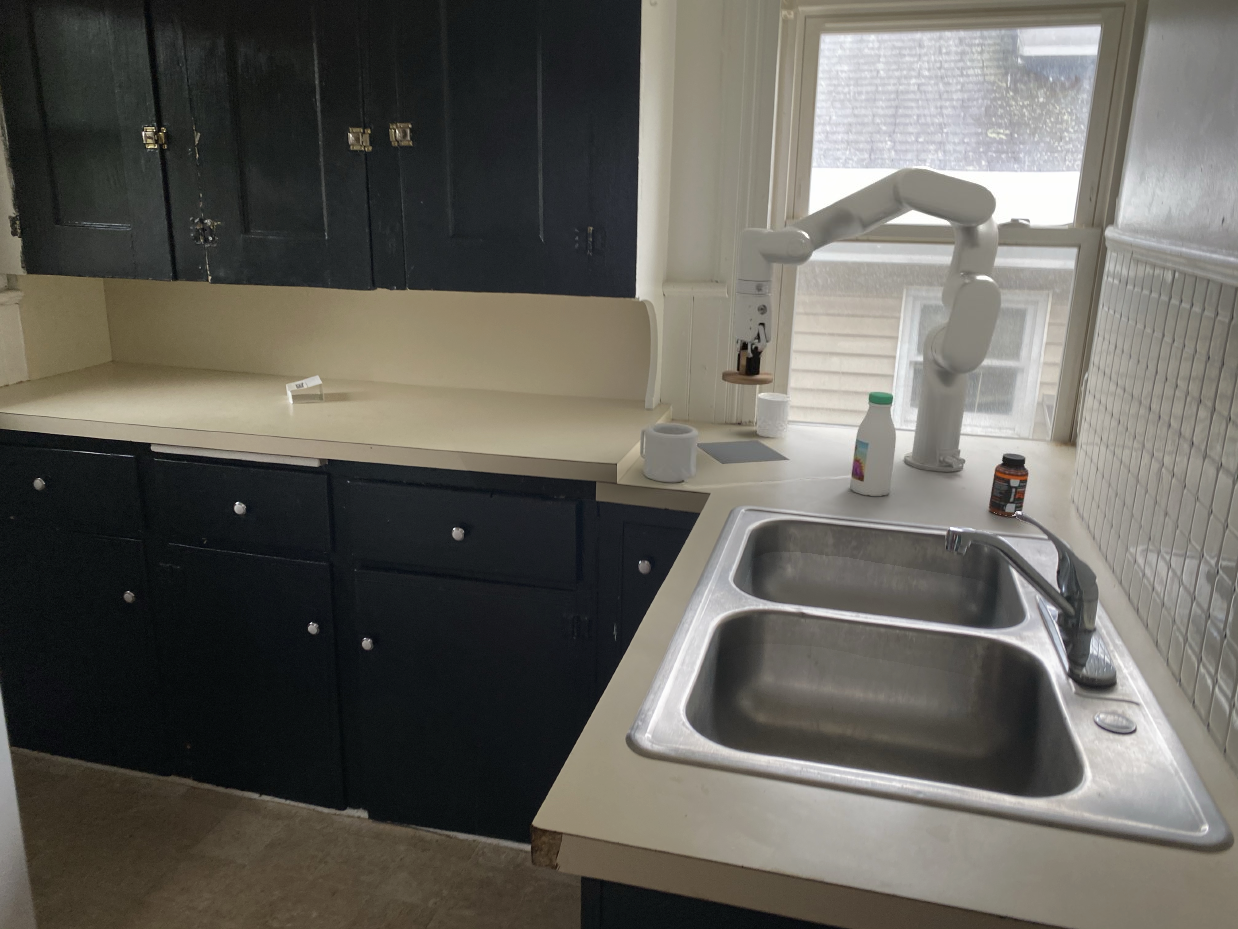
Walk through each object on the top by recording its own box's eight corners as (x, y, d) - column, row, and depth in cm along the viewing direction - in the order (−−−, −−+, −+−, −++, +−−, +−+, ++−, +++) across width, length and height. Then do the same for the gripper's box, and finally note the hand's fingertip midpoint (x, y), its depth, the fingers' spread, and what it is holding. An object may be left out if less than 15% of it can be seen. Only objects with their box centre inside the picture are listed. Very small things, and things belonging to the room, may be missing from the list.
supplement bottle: (1018, 520, 179) (1028, 462, 176) (985, 513, 182) (994, 456, 179) (1024, 511, 184) (1033, 455, 181) (991, 505, 187) (1000, 449, 184)
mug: (705, 476, 198) (709, 429, 195) (672, 487, 190) (675, 438, 187) (656, 461, 207) (658, 416, 204) (622, 471, 199) (624, 424, 196)
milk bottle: (890, 488, 195) (902, 392, 189) (888, 499, 188) (900, 399, 182) (852, 483, 197) (863, 387, 191) (847, 494, 190) (859, 395, 184)
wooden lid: (781, 383, 206) (783, 355, 204) (735, 386, 203) (736, 357, 201) (758, 373, 216) (760, 346, 214) (713, 375, 213) (715, 347, 211)
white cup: (786, 442, 226) (790, 401, 223) (753, 439, 227) (756, 398, 224) (787, 434, 233) (791, 394, 230) (755, 431, 235) (758, 391, 232)
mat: (789, 463, 209) (789, 459, 209) (722, 467, 205) (722, 463, 204) (757, 443, 224) (757, 440, 224) (693, 446, 219) (694, 443, 219)
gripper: (787, 292, 197) (780, 380, 202) (752, 283, 212) (747, 365, 218) (754, 292, 195) (748, 381, 200) (721, 283, 210) (716, 366, 215)
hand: (747, 372), depth 209 cm, fingers closed on wooden lid, 3 cm apart
